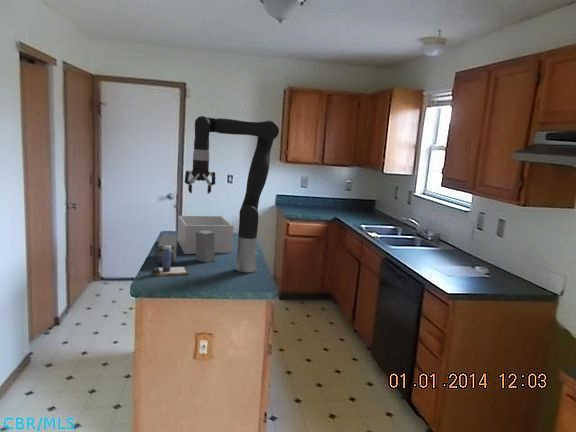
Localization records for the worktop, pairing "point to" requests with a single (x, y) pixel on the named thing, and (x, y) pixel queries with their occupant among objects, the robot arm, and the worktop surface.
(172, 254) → the grey curved block
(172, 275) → the clipboard
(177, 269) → the paper
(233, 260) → the worktop surface
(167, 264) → the marker
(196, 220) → the storage bin
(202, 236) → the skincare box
